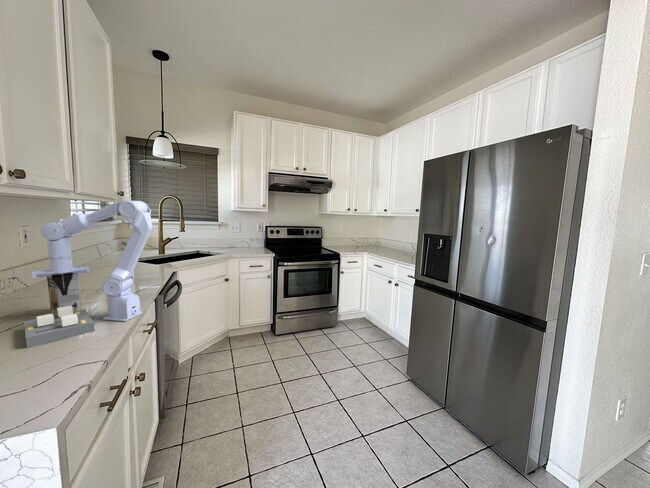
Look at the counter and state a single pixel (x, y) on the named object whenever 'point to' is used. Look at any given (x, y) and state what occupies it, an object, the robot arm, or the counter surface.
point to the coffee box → (66, 300)
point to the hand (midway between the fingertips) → (64, 294)
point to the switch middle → (45, 319)
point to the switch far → (64, 311)
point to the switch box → (57, 329)
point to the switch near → (69, 320)
